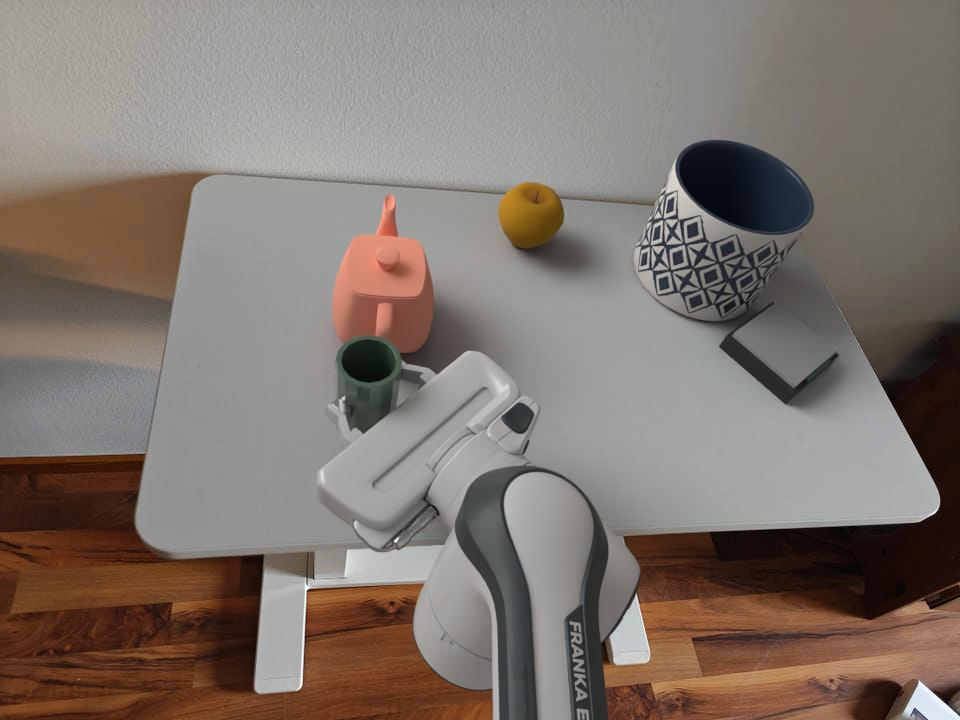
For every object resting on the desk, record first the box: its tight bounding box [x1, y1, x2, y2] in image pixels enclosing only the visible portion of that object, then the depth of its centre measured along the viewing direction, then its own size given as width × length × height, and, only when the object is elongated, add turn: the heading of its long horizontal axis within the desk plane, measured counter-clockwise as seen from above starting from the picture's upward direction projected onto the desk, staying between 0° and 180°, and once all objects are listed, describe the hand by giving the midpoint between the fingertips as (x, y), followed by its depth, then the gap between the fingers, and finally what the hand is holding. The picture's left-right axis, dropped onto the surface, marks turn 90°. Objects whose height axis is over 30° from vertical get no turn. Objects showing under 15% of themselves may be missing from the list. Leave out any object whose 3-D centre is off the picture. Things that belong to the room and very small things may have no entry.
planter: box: [632, 139, 815, 322], centre depth 97 cm, size 18×18×16 cm
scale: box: [718, 301, 840, 405], centre depth 95 cm, size 11×11×3 cm
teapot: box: [331, 193, 435, 354], centre depth 85 cm, size 20×12×12 cm, turn 3°
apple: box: [497, 181, 565, 250], centre depth 99 cm, size 9×9×9 cm
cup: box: [334, 335, 403, 434], centre depth 67 cm, size 6×6×10 cm
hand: (360, 383), depth 67 cm, fingers closed on cup, 6 cm apart
